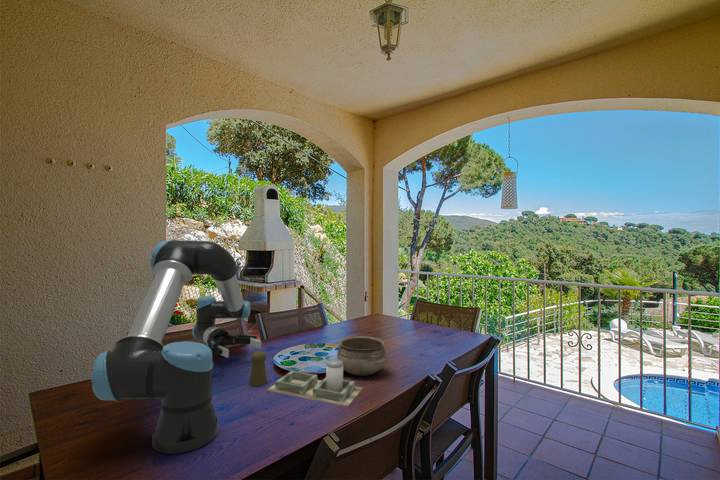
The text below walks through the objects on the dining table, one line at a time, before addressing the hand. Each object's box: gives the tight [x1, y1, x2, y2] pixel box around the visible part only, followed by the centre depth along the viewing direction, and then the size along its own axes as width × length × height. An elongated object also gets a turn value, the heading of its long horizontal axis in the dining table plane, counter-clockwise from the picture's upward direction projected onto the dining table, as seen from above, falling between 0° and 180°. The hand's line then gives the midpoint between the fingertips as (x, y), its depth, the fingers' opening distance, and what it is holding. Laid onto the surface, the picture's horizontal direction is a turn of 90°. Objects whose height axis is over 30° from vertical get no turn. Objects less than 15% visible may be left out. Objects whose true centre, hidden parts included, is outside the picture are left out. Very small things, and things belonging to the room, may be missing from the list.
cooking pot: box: [336, 335, 388, 377], centre depth 131 cm, size 25×19×12 cm
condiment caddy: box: [265, 370, 363, 408], centre depth 114 cm, size 14×29×4 cm, turn 70°
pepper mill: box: [249, 350, 268, 388], centre depth 121 cm, size 6×6×11 cm
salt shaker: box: [325, 358, 344, 392], centre depth 112 cm, size 6×6×10 cm
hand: (244, 349), depth 128 cm, fingers open, 13 cm apart
